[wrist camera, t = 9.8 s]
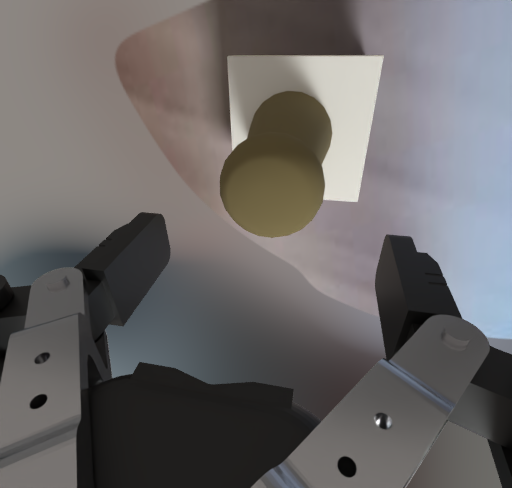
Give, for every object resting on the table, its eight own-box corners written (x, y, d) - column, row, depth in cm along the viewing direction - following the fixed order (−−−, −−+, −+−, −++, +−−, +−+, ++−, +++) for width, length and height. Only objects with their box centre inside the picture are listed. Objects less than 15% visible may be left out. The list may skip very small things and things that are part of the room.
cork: (317, 183, 25) (310, 269, 16) (243, 163, 25) (196, 237, 16) (344, 102, 22) (355, 156, 13) (258, 80, 22) (210, 118, 13)
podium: (374, 50, 24) (383, 55, 20) (353, 177, 30) (357, 202, 25) (243, 51, 26) (227, 56, 21) (247, 171, 31) (234, 193, 27)
